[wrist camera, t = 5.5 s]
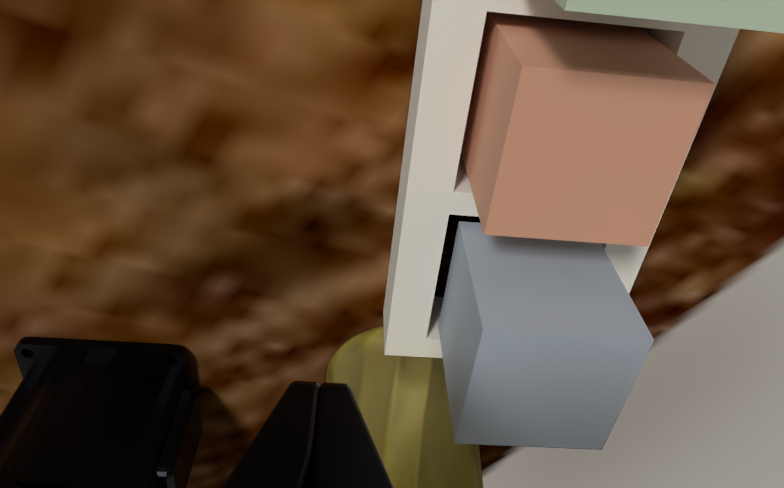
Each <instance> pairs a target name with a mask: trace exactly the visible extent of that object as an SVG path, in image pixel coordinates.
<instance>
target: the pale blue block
mask: <svg viewBox="0 0 784 488" xmlns="http://www.w3.org/2000/svg"><path fill="white" fill-rule="evenodd" d="M438 327H439V334H440V342H441V349H442V357H443V364H444V371H445V379H446V386H447V393H448V401H449V408H450V416H451V423H452V430H453V438H454V443H456V444H479V445H503V446H526V447H551V448H574V449H597V450H602V449H603V447H604V444H605V442H606V440H607V438H608V436H609V434H610V432H611V430H612V428H613V426H614V424H615V421H616V419H617V417H618V415H619V413H620V410H621V409H622V407H623V404H624V403H625V400H626V398H627V396H628V394H629V392H630V390H631V388H632V385H633V384H634V381H635V379H636V377H637V375H638V373H639V371H640V369H641V367H642V365H643V362H644V360H645V358H646V356H647V354H648V352H649V350H650V348H651V346H652V344H653V341H654V339H653V337H652V335H651V333H650V332H649V330H648V328H647V326H646V324H645V323H644V321H643V319H642V317H641V315H640V314H639V312H638V310H637V308H636V306H635V304H634V303H633V301H632V299H631V297H630V295H629V294H628V292H627V290H626V288H625V286H624V284H623V283H622V281H621V279H620V277H619V275H618V274H617V272H616V270H615V268H614V266H613V264H612V263H611V261H610V259H609V257H608V255H607V254H606V252H605V250H604V248H603V246H602V245H601V243H591V242H577V241H564V240H550V239H536V238H522V237H508V236H494V235H484V233H483V230H482V226H481V223H477V222H463V221H459V223H458V228H457V233H456V238H455V243H454V248H453V253H452V258H451V264H450V269H449V274H448V279H447V284H446V289H445V294H444V299H443V304H442V309H441V314H440V319H439V324H438Z"/></svg>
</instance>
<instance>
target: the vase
mask: <svg viewBox="0 0 784 488" xmlns="http://www.w3.org/2000/svg"><path fill="white" fill-rule="evenodd" d="M327 382H328V383H345V384H348V385H349V387H350V388H351V390H352V392H353V395H354V397H355V399H356V402H357V404H358V406H359V409H360V411H361V413H362V416H363V418H364V420H365V423H366V425H367V427H368V429H369V432H370V434H371V436H372V439H373V441H374V443H375V446H376V448H377V450H378V453H379V455H380V457H381V460H382V462H383V464H384V467H385V469H386V471H387V474H388V476H389V478H390V481H391V483H392V485H393V488H483V482H482V472H481V462H480V453H479V444H456V443H454V438H453V430H452V423H451V416H450V408H449V401H448V393H447V386H446V379H445V371H444V364H443V358H430V357H412V356H394V355H384V326H380V327H376V328H373V329H370V330H368V331H365V332H362V333H360V334H357V335H355V336H354V337H352V338H350V339H349V340H348V341H346V342H345V343H344V344H343V345H342V346H341V347H340V348H339V349H338V350H337V351H336V353H335V354H334V355H333V357H332V358H331V361H330V363H329V366H328V370H327Z"/></svg>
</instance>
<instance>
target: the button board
mask: <svg viewBox="0 0 784 488" xmlns="http://www.w3.org/2000/svg"><path fill="white" fill-rule="evenodd" d="M487 11H488V12H497V13H507V14H517V15H527V16H536V17H546V18H556V19H566V20H575V21H585V22H595V23H604V24H614V25H624V26H634V27H643V30H644V31H645V32H647V33H648V34H649V35H651V36H652V37H653V38H655V39H656V40H657V41H659V42H660V43H661V44H663V45H664V46H665V47H667V48H668V49H669V50H671V51H672V52H673V53H675V54H676V55H677V56H679V57H680V58H681V59H683V60H684V61H686V62H687V63H688V64H690V65H691V66H692V67H694V68H695V69H696V70H698V71H699V72H700V73H702V74H703V75H704V76H706V77H707V78H708V79H710V80H711V81H712V82H714V83H715V84H716V85H717V83H718V80H719V78H720V76H721V73H722V71H723V68H724V66H725V64H726V61H727V59H728V56H729V54H730V52H731V49H732V47H733V44H734V42H735V40H736V37H737V35H738V33H739V30H740V29H738V28H728V27H719V26H709V25H700V24H690V23H680V22H671V21H661V20H652V19H642V18H632V17H623V16H613V15H604V14H594V13H584V12H575V11H565V10H563V9H562V8H561V7H560V6H559V5H558V4H557V3H556V2H555V1H554V0H423V1H422V9H421V17H420V25H419V33H418V41H417V49H416V57H415V65H414V73H413V80H412V88H411V96H410V104H409V112H408V120H407V128H406V136H405V144H404V152H403V160H402V167H401V175H400V183H399V191H398V199H397V207H396V215H395V223H394V231H393V239H392V247H391V255H390V262H389V270H388V278H387V286H386V294H385V302H384V310H383V317H384V355H394V356H412V357H430V358H443V357H442V349H441V342H440V334H439V327H438V324H439V319H440V314H441V309H442V304H443V299H444V297H434V294H435V289H436V284H437V278H438V273H439V267H440V262H441V257H442V251H443V246H444V240H445V235H446V230H447V224H448V219H449V215H462V216H476V217H479V215H478V212H477V208H476V204H475V201H474V197H473V194H472V190H471V186H470V183H469V179H468V176H467V172H466V168H465V165H464V161H463V157H460V154H461V149H462V143H463V138H464V132H465V127H466V122H467V116H468V111H469V106H470V100H471V95H472V89H473V84H474V79H475V73H476V68H477V62H478V57H479V52H480V46H481V41H482V35H483V30H484V25H485V19H486V14H487ZM715 87H716V86H715ZM714 90H715V88H714ZM714 90H713V92H714ZM712 95H713V93H712ZM712 95H711V97H712ZM710 99H711V98H710ZM709 102H710V100H709ZM709 102H708V104H709ZM707 107H708V105H707ZM707 107H706V109H707ZM705 111H706V110H705ZM704 114H705V112H704ZM704 114H703V116H704ZM702 119H703V117H702ZM702 119H701V121H702ZM700 123H701V122H700ZM699 126H700V124H699ZM699 126H698V128H699ZM697 131H698V129H697ZM697 131H696V133H697ZM695 135H696V134H695ZM694 138H695V136H694ZM694 138H693V140H694ZM692 142H693V141H692ZM691 145H692V143H691ZM690 147H691V146H690ZM689 150H690V148H689ZM689 150H688V152H689ZM687 154H688V153H687ZM686 157H687V155H686ZM685 159H686V158H685ZM684 162H685V160H684ZM684 162H683V164H684ZM682 166H683V165H682ZM681 169H682V167H681ZM681 169H680V171H681ZM679 174H680V172H679ZM679 174H678V176H679ZM677 178H678V177H677ZM676 181H677V179H676ZM676 181H675V183H676ZM674 185H675V184H674ZM673 188H674V186H673ZM672 190H673V189H672ZM671 193H672V191H671ZM671 193H670V195H671ZM669 197H670V196H669ZM668 200H669V198H668ZM667 202H668V201H667ZM666 205H667V203H666ZM666 205H665V207H666ZM664 209H665V208H664ZM663 212H664V210H663ZM662 214H663V213H662ZM661 217H662V215H661ZM661 217H660V219H661ZM659 221H660V220H659ZM658 224H659V222H658ZM657 226H658V225H657ZM656 228H657V227H656ZM655 231H656V229H655ZM654 233H655V232H654ZM653 236H654V234H653ZM652 238H653V237H652ZM651 240H652V239H651ZM650 243H651V241H650ZM601 245H602V246H603V248H604V250H605V252H606V254H607V255H608V257H609V259H610V261H611V263H612V264H613V266H614V268H615V270H616V272H617V274H618V275H619V277H620V279H621V281H622V283H623V284H624V286H625V288H626V290H627V292H628V294H629V293H630V291H631V288H632V286H633V283H634V281H635V279H636V276H637V274H638V272H639V269H640V267H641V264H642V262H643V260H644V257H645V255H646V252H647V250H648V248H649V246H648V247H647V246H633V245H619V244H605V243H601ZM649 245H650V244H649Z"/></svg>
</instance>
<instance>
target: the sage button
mask: <svg viewBox="0 0 784 488" xmlns="http://www.w3.org/2000/svg"><path fill="white" fill-rule="evenodd" d="M554 1H555V2H556V3H557V4H558V5H559V6H560V7H561V8H562V9H563V10H565V11H575V12H584V13H594V14H604V15H613V16H623V17H632V18H642V19H652V20H661V21H671V22H680V23H690V24H700V25H709V26H719V27H728V28H738V29H748V30H757V31H767V32H777V33H784V0H554Z"/></svg>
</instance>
